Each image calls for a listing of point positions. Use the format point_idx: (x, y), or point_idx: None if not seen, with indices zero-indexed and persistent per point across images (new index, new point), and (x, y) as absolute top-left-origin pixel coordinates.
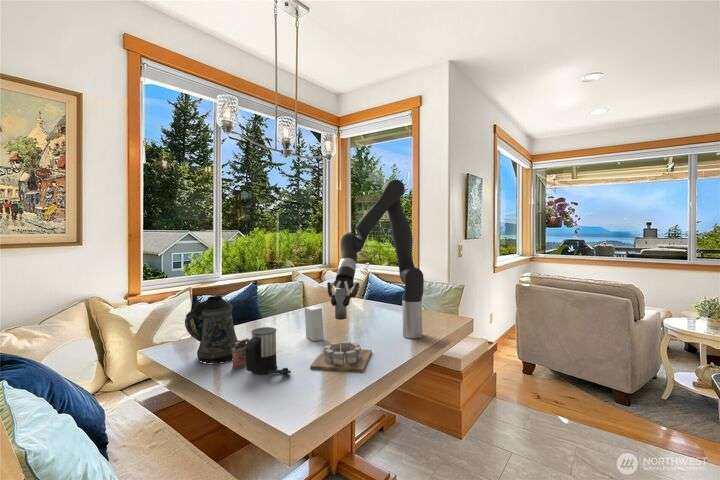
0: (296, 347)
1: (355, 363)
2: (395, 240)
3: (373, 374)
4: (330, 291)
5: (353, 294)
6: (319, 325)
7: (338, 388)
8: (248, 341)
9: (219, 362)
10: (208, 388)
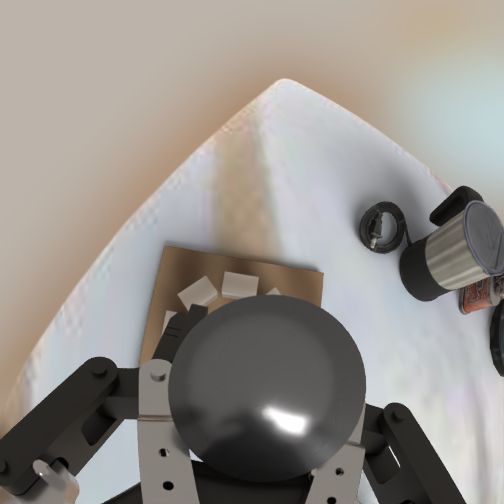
0: None
1: (185, 287)
2: None
3: (141, 236)
4: (394, 429)
5: (98, 361)
6: None
7: (229, 170)
8: (479, 194)
9: (500, 301)
10: None
